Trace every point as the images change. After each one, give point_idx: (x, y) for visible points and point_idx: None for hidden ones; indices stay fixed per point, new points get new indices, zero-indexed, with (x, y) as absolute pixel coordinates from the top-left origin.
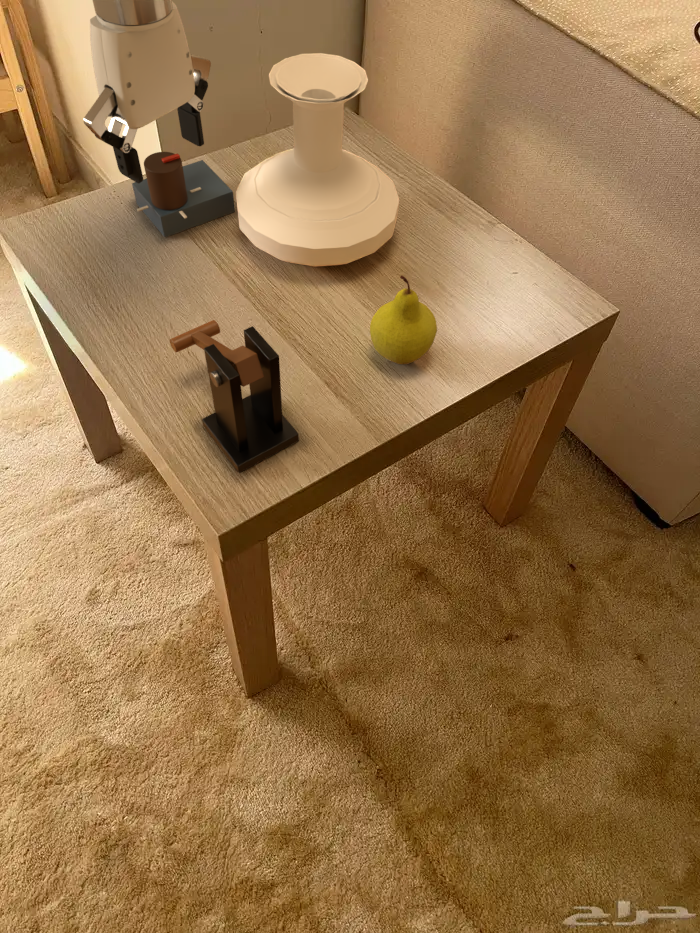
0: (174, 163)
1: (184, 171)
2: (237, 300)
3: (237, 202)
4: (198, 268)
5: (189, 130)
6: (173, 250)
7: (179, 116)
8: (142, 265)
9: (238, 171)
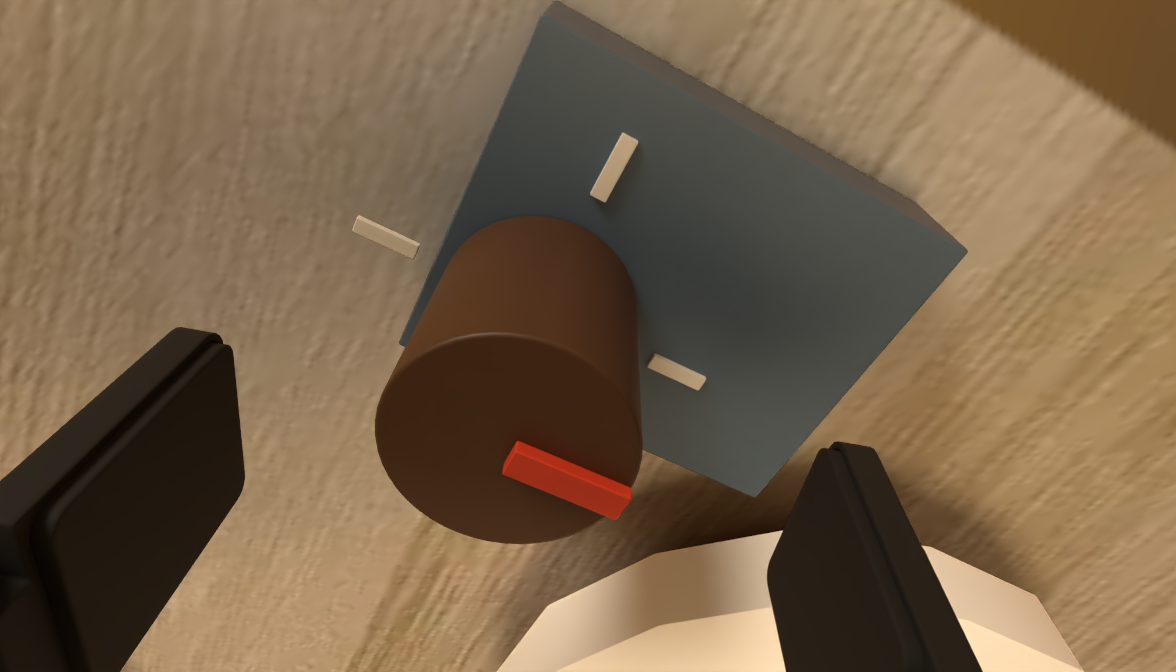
0: (541, 510)
1: (810, 231)
2: (343, 617)
3: (589, 660)
4: (374, 475)
5: (809, 593)
6: (390, 358)
7: (872, 594)
8: (236, 309)
9: (1050, 299)
